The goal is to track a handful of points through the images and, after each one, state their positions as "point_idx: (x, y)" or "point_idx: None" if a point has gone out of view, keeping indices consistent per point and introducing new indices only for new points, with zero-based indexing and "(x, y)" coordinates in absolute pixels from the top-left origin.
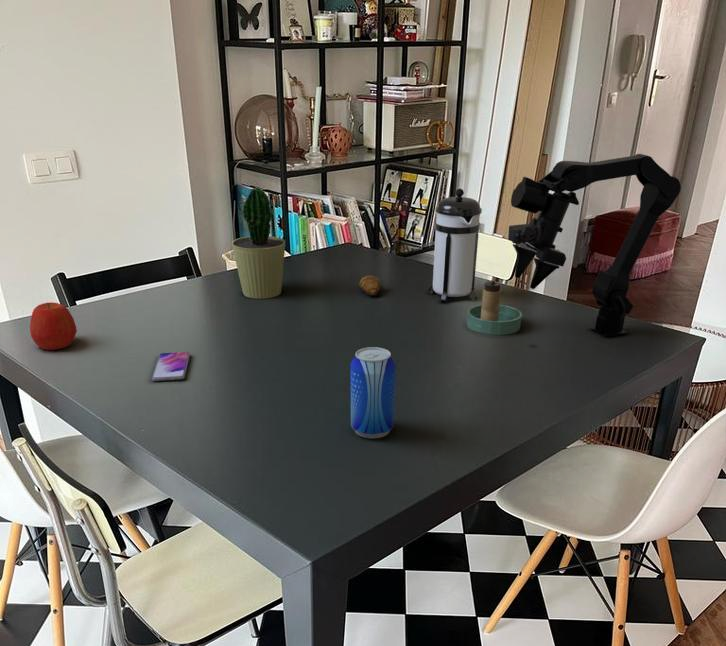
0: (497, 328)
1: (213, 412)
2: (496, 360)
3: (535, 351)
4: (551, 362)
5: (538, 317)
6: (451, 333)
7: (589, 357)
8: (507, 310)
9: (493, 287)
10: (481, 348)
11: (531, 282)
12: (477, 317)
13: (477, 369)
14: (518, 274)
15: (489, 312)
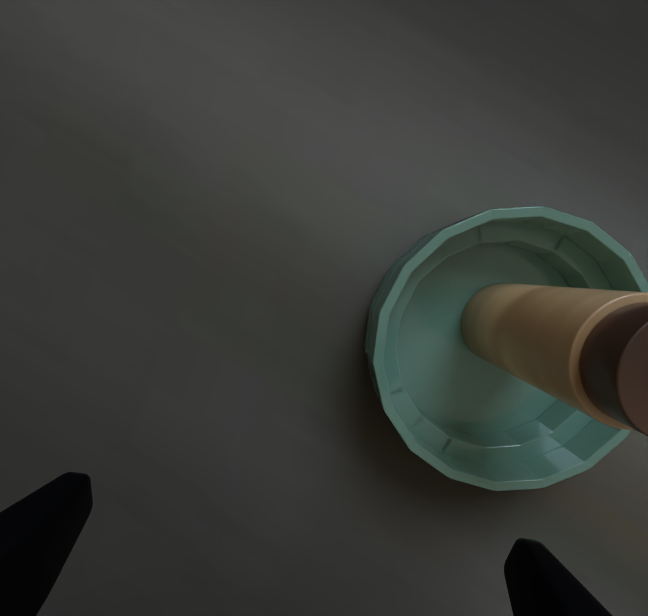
0: (381, 294)
1: None
2: (132, 147)
3: (169, 357)
4: (43, 352)
5: None
6: (492, 120)
7: None
8: (558, 456)
9: (614, 346)
10: (277, 157)
11: (23, 520)
12: None
13: (67, 14)
14: (528, 593)
15: (504, 307)
